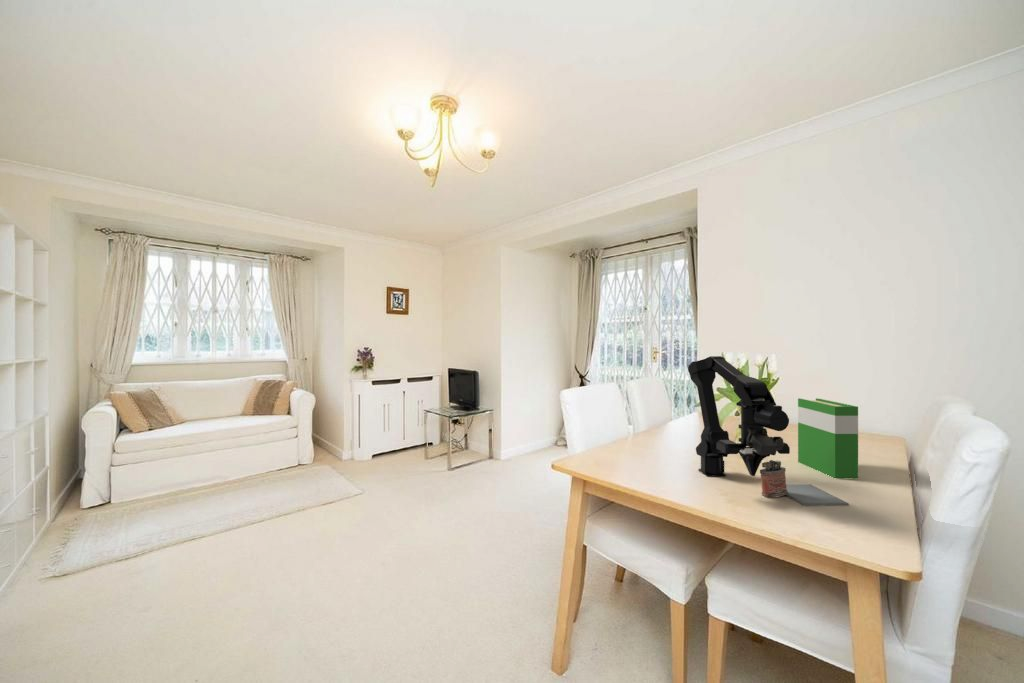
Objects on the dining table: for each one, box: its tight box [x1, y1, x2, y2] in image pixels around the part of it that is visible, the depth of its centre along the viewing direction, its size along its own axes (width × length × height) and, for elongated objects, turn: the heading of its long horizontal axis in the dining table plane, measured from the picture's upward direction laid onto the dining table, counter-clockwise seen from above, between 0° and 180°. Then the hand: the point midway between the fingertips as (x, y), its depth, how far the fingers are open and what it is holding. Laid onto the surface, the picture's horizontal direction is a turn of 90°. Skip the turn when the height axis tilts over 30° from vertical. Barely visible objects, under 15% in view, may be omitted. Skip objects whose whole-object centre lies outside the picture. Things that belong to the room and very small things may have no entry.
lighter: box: [759, 459, 788, 499], centre depth 116 cm, size 8×3×10 cm, turn 103°
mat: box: [785, 483, 850, 506], centre depth 116 cm, size 12×14×1 cm
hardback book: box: [797, 397, 859, 479], centre depth 138 cm, size 18×7×24 cm, turn 178°
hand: (752, 475), depth 116 cm, fingers closed
